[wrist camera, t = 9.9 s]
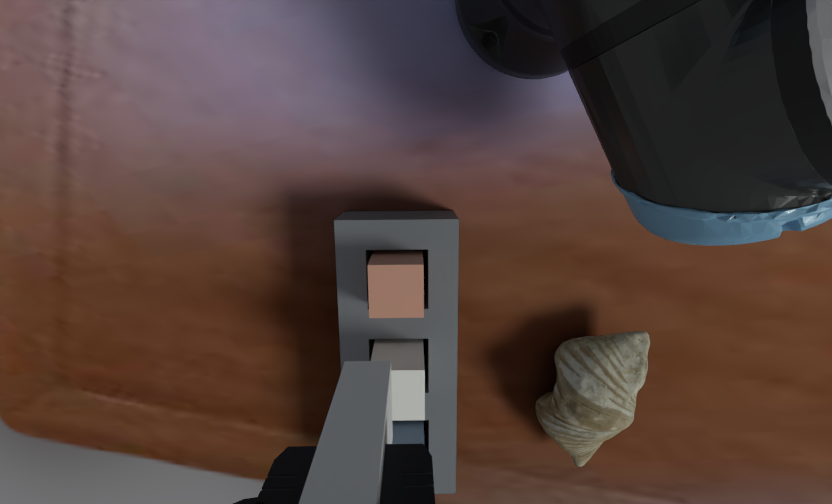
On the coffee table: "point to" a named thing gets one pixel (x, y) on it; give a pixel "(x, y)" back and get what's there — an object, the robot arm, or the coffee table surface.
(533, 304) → the coffee table surface
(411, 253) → the salmon brown block
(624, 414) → the seashell
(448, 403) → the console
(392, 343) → the white key
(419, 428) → the blue key
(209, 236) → the coffee table surface
